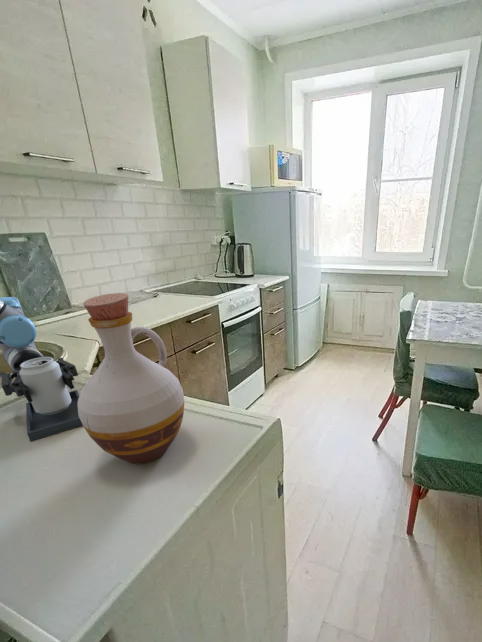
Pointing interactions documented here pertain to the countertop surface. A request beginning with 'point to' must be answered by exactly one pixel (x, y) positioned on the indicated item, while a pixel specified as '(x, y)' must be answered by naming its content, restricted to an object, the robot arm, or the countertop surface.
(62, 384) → the can
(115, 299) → the jug
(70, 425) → the tray
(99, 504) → the countertop surface
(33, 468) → the countertop surface
